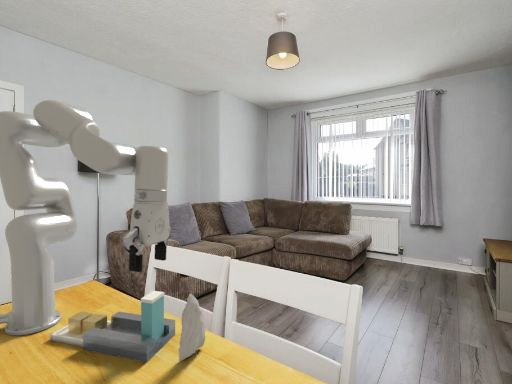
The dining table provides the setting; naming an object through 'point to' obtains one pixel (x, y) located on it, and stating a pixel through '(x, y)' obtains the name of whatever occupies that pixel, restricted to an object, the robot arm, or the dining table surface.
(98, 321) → the gold cube
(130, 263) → the robot arm
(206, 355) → the dining table surface
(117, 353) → the slot board
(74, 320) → the chip
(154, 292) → the teal rectangular block
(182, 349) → the stone tool
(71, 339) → the tray
